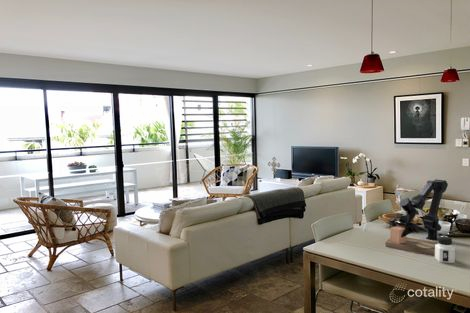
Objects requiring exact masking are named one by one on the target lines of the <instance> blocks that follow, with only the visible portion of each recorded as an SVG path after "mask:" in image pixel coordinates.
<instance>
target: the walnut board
mask: <svg viewBox="0 0 470 313" xmlns="http://www.w3.org/2000/svg"><path fill="white" fill-rule="evenodd" d="M435 244H438V241H435V240H429V239H422V238H421V239H420V238H415V237H408V236H406V242H405V243H400V244H398V243H395V242H392V241H390V238H389V239H387V240H386V241H385V248H391V249H398V250H403V251H409V252H413V253H419V254H423V255H424V254H425V255H430V256H434V257H435Z"/></svg>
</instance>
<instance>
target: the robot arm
mask: <svg viewBox="0 0 470 313" xmlns="http://www.w3.org/2000/svg"><path fill="white" fill-rule="evenodd" d="M448 186H449V183H448V182H447V180H445V179H444V180H443V179H434V180H427V181H426V183H425V185H424V187H423V188H422V189H421V191H420V192H419V193H418V194H417V195H416V196H415V195H414V196H413V197H412V199H411V200H410V198H409V197H405V198H403V199H401V200H400V201H399V206H400V207H401V208H402V209H403V211H404V212H405V213H404V214H401V213H402V212H395V213H396V216H395V218H398V220H399V221H400V222H398V221H397V220H396V219H394V218H390V219H389V220H388V221H389V222H390V223H391V225H392V226H393V227H396V226H399V225H401V226H405V230H404V232H403V233H402V235H401V237H404V236H406V237H407V236H408V235H410V234H413V233H419V232H420V228H419V226H418V224H417V223H416V224H414V223H411V222H413V221H414V220H413V219H414V217H415V216H417V215H418V216H419V215H420V212H419V210H423V208H424V206H425V205H426V200H427V198H428V196H430V194H431V193H432V192H433V194H432V199H431V203H430V206H429V211H428V213H427V214H424V217H423V219H422V224H423V227H424V229H427V236H426V239H425V240H431V241H438V237H439V235H438V233H439V232H440V231H442V225H441V224H440V219H439V217H438V214H439V213H438V212H439V209H440V205H441V200H442V195H443V194H444V193H445V192H446V191H447V188H448ZM391 225H390V226H391ZM392 226H391V227H392Z"/></svg>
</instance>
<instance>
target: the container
mask: <svg viewBox="0 0 470 313" xmlns="http://www.w3.org/2000/svg"><path fill="white" fill-rule="evenodd" d="M437 237H438V240H437V242H438V244H435V256H434V258H435V259H436V261H438V263H447V264H448V263H451V264H455V262H456V261H455V260H456V249H455V248H454V247H453V245H452V244H453V239H452V238H451V237H449V236H448V235H447V236H446V235H442V236H437Z"/></svg>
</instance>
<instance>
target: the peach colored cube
mask: <svg viewBox="0 0 470 313" xmlns="http://www.w3.org/2000/svg"><path fill="white" fill-rule="evenodd" d="M389 230H390V235H389V236H390V237H389V239H390V241H392V242H395V243H398V244H400V243H405V242H406V237H407V235H406V236H404V237H401V235H402V233H403V232H404V230H405V228H402V227H399V226H396V227H392V226H391V227H390V229H389Z"/></svg>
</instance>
